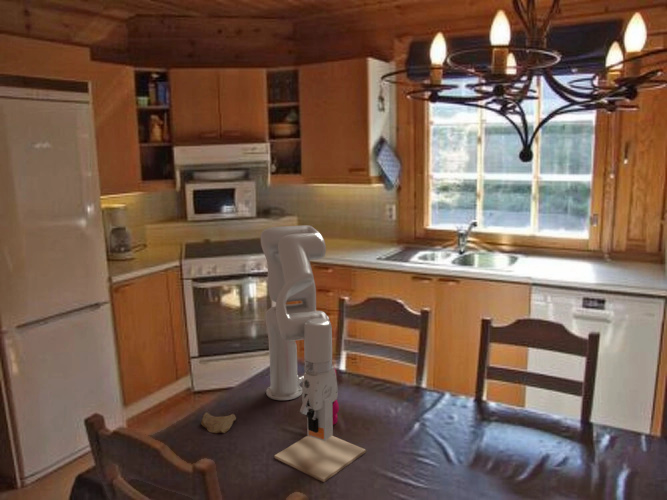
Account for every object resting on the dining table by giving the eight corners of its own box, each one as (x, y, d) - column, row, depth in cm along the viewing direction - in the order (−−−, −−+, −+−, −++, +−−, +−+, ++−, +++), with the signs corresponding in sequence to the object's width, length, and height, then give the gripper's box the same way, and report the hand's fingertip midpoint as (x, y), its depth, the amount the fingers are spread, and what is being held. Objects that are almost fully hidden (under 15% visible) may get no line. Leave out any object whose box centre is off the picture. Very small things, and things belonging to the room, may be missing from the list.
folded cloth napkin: (317, 432, 165) (317, 429, 165) (365, 452, 154) (365, 449, 154) (274, 458, 152) (274, 455, 152) (323, 482, 140) (323, 479, 140)
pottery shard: (237, 422, 176) (208, 413, 177) (239, 410, 174) (210, 401, 175) (225, 441, 165) (194, 432, 166) (227, 429, 164) (196, 419, 165)
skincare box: (306, 436, 151) (305, 395, 149) (315, 429, 155) (314, 390, 153) (325, 442, 148) (324, 400, 146) (333, 435, 152) (332, 394, 150)
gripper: (307, 378, 139) (309, 444, 142) (348, 358, 152) (349, 419, 155) (286, 371, 144) (288, 435, 147) (328, 352, 157) (329, 411, 160)
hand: (319, 426), depth 151 cm, fingers closed on skincare box, 4 cm apart
